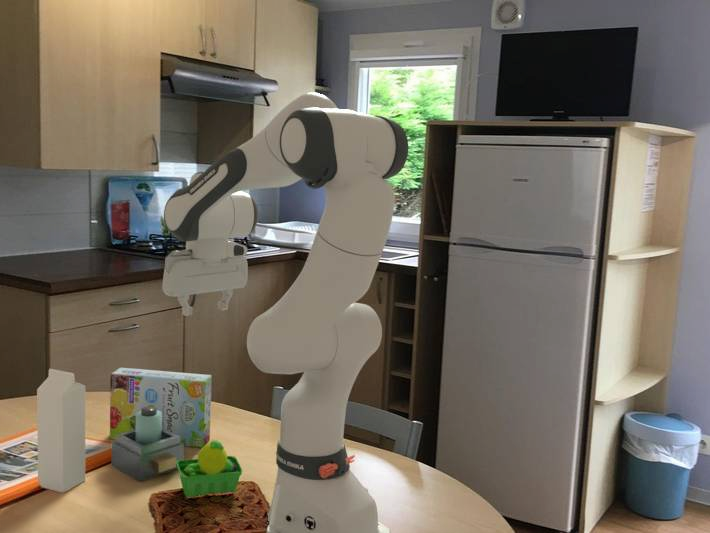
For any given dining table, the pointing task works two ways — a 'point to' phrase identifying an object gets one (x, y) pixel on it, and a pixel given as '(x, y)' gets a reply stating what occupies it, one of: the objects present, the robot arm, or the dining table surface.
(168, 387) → the snack box
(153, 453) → the gray drawer
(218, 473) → the fruit basket
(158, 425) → the capped canister
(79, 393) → the milk
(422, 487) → the dining table surface
